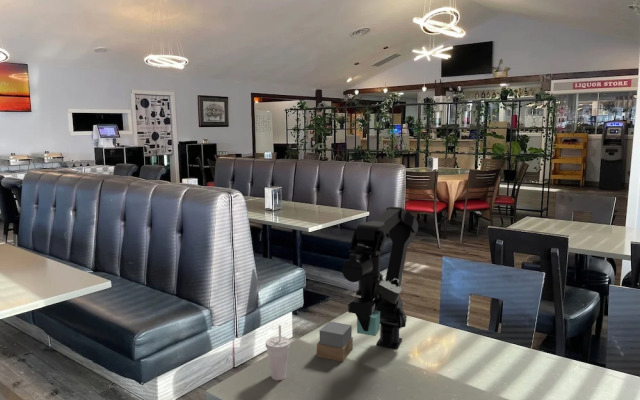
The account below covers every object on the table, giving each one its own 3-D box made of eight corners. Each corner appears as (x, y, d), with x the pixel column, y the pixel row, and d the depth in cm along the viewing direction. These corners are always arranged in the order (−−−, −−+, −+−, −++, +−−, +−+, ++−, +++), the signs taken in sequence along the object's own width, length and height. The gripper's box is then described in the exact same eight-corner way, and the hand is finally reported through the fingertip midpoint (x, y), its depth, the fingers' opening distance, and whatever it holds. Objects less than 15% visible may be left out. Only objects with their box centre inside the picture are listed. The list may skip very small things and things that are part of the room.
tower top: (329, 334, 137) (329, 321, 137) (351, 338, 135) (351, 325, 134) (319, 343, 131) (319, 330, 131) (342, 348, 128) (342, 334, 128)
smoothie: (286, 384, 117) (286, 331, 115) (262, 381, 118) (261, 329, 116) (293, 371, 123) (292, 321, 121) (270, 369, 124) (269, 319, 122)
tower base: (327, 345, 139) (327, 332, 138) (352, 350, 136) (352, 337, 135) (316, 357, 132) (316, 344, 131) (343, 362, 129) (343, 349, 128)
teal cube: (362, 325, 128) (362, 308, 127) (379, 328, 126) (380, 311, 126) (357, 333, 124) (357, 315, 123) (375, 336, 122) (375, 318, 121)
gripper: (391, 285, 111) (390, 347, 113) (406, 264, 128) (404, 318, 131) (347, 280, 115) (347, 339, 117) (367, 261, 132) (366, 312, 135)
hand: (368, 327), depth 125 cm, fingers closed on teal cube, 5 cm apart
